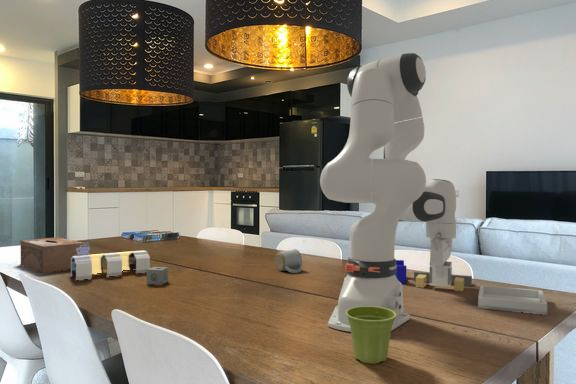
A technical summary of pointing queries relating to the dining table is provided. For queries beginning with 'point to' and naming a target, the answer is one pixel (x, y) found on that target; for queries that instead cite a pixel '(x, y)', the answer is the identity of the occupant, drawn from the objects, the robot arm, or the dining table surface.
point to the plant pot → (370, 332)
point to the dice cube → (157, 275)
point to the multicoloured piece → (107, 263)
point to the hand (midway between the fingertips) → (440, 276)
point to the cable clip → (401, 271)
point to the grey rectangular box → (446, 278)
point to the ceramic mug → (289, 261)
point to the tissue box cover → (48, 253)
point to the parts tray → (512, 299)
